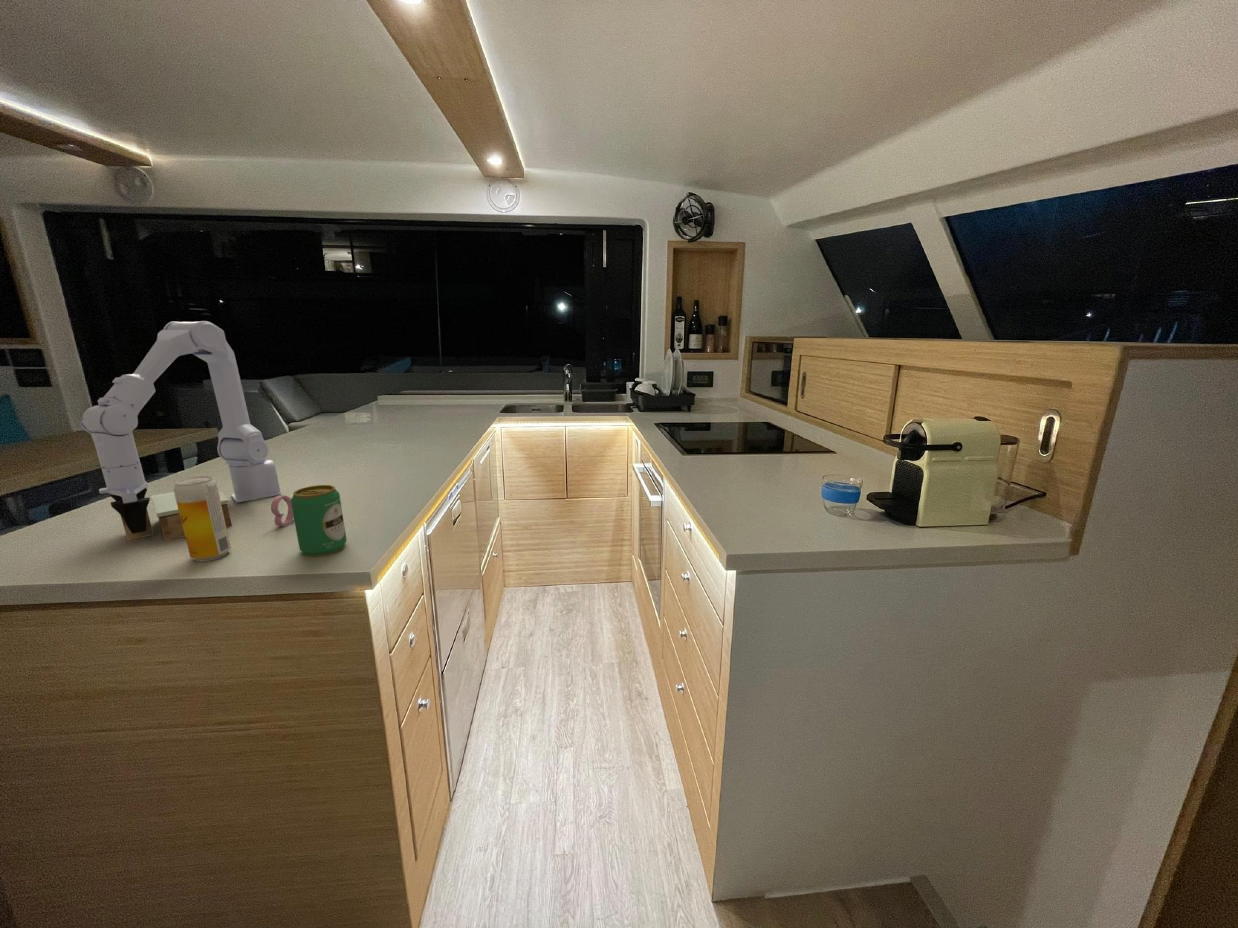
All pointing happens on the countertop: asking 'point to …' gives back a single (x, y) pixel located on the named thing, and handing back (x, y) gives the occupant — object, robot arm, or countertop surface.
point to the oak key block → (140, 534)
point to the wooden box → (174, 525)
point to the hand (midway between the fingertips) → (138, 527)
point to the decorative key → (278, 515)
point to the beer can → (202, 518)
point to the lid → (174, 503)
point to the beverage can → (318, 520)
